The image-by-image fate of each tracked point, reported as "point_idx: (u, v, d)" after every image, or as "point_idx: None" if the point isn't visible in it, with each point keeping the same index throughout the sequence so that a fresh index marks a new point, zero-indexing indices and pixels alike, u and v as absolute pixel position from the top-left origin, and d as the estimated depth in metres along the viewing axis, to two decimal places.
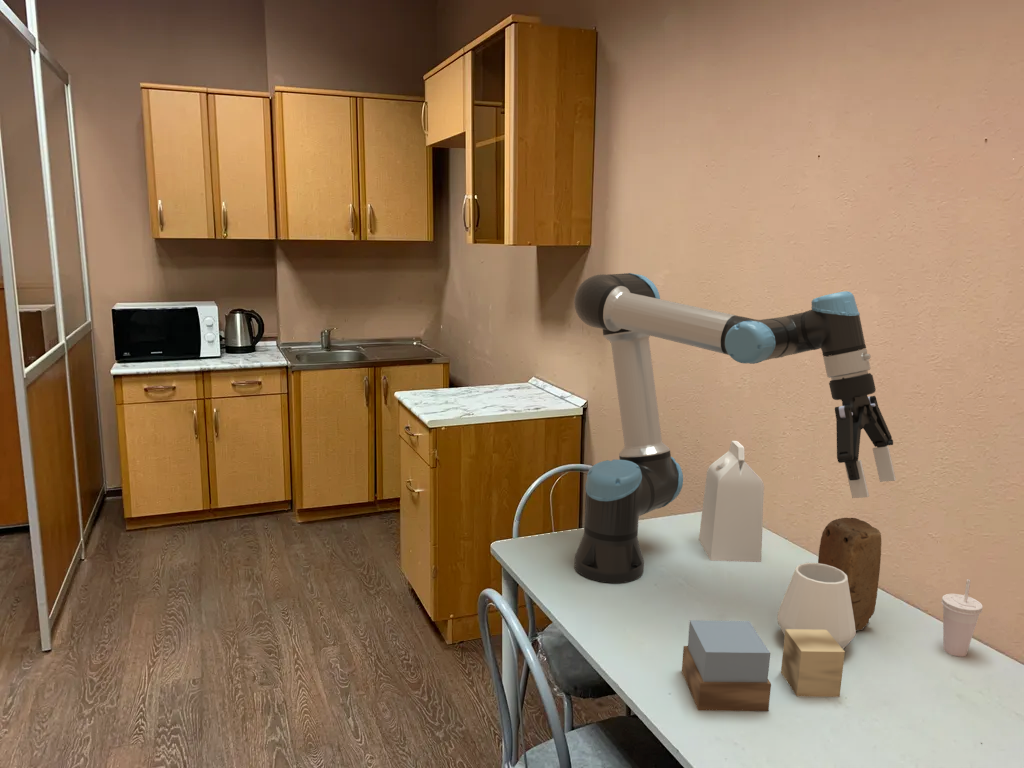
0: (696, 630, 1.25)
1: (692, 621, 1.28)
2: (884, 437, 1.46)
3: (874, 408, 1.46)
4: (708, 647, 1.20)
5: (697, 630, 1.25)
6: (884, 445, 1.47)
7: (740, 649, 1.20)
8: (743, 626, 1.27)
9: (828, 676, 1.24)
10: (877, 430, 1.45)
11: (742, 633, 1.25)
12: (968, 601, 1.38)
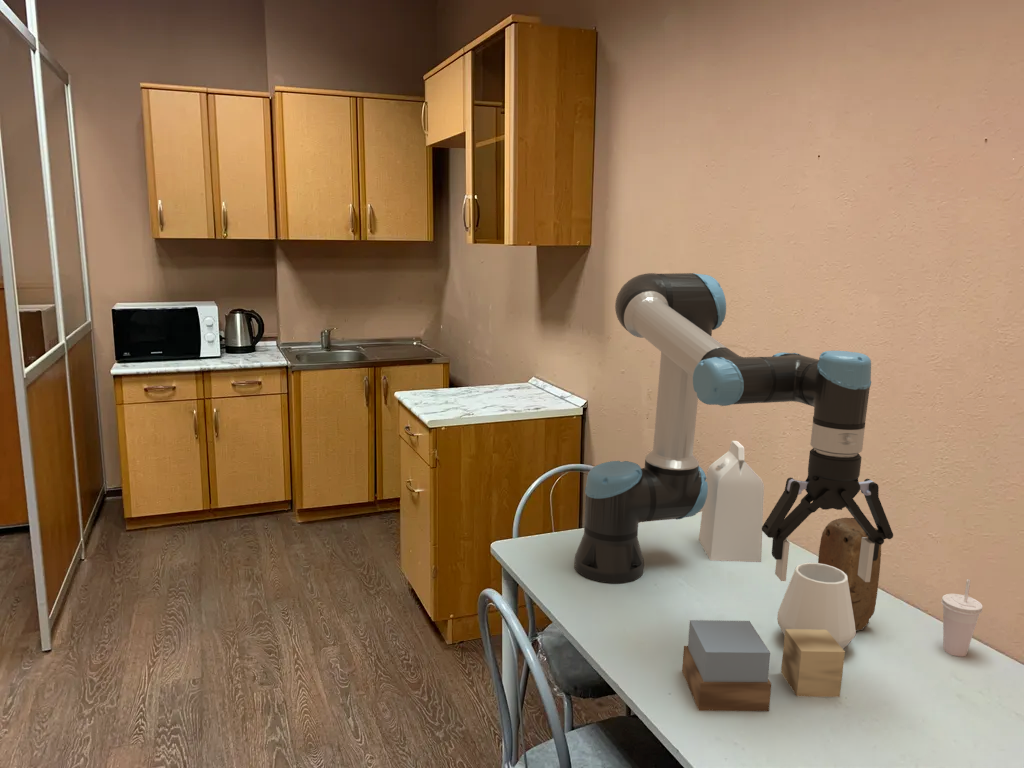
0: (696, 630, 1.25)
1: (692, 621, 1.28)
2: (871, 532, 1.22)
3: (870, 497, 1.22)
4: (708, 647, 1.20)
5: (697, 630, 1.25)
6: (872, 540, 1.23)
7: (740, 648, 1.20)
8: (743, 626, 1.27)
9: (828, 676, 1.24)
10: (859, 521, 1.22)
11: (742, 633, 1.25)
12: (968, 601, 1.38)
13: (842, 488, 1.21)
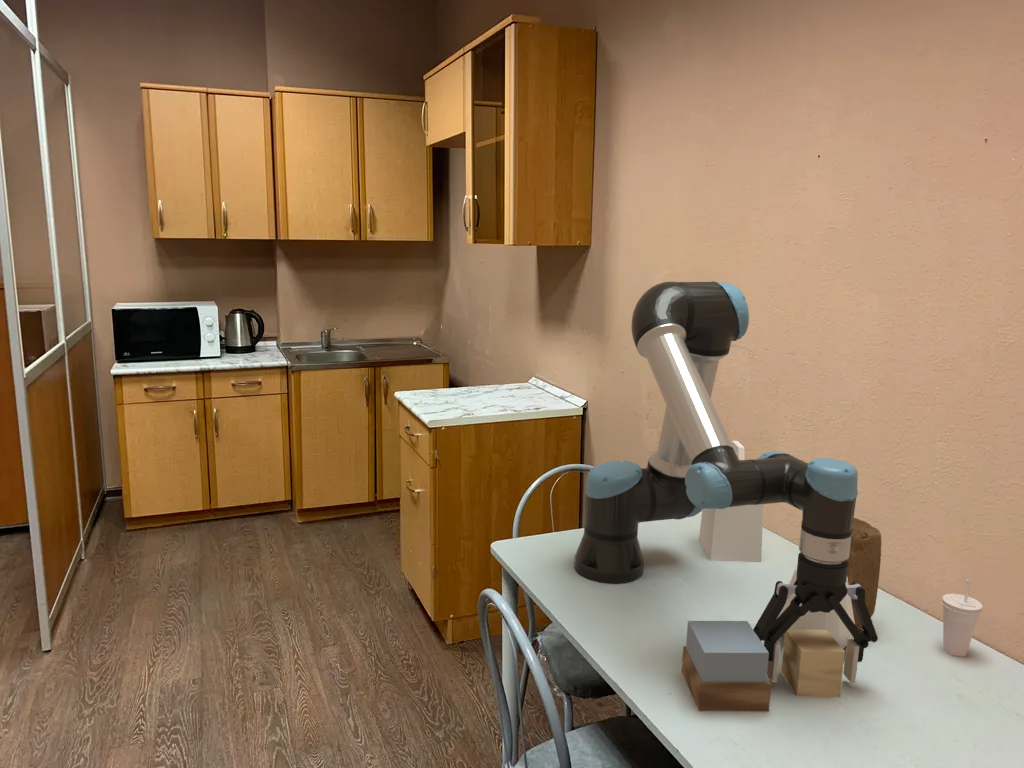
0: (694, 630, 1.25)
1: (690, 621, 1.28)
2: (857, 635, 1.25)
3: (856, 600, 1.25)
4: (706, 648, 1.20)
5: (695, 631, 1.25)
6: (857, 643, 1.26)
7: (739, 649, 1.20)
8: (741, 626, 1.27)
9: (828, 676, 1.24)
10: (845, 624, 1.25)
11: (740, 633, 1.25)
12: (968, 601, 1.38)
13: (830, 592, 1.24)
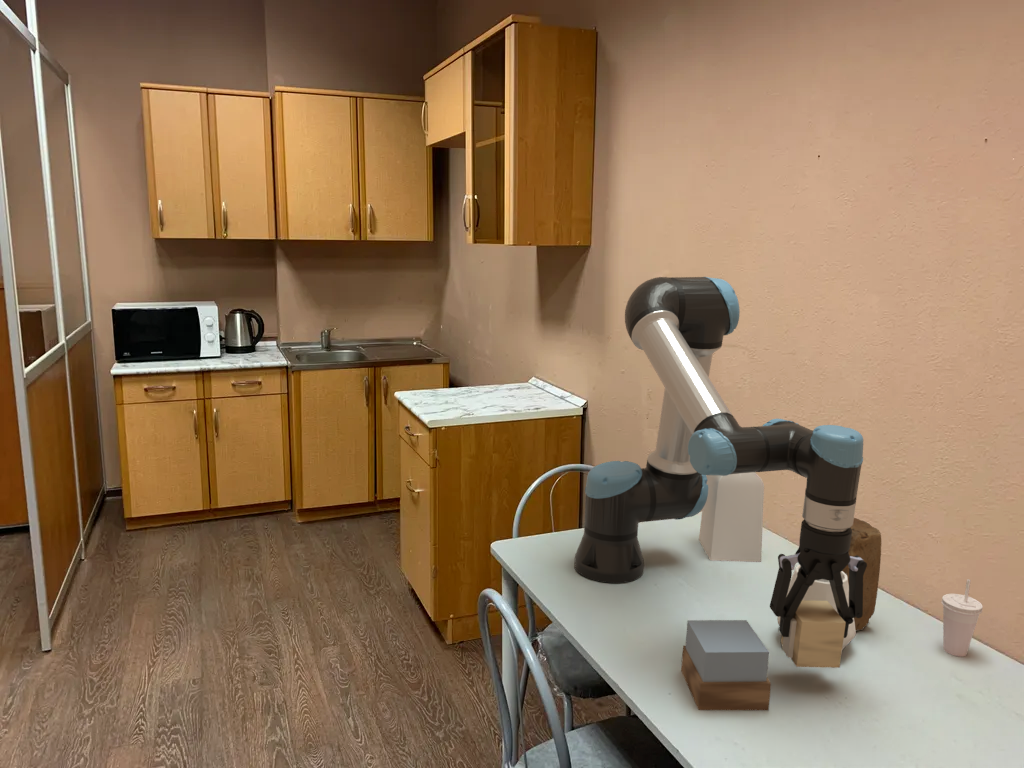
0: (694, 630, 1.25)
1: (690, 621, 1.28)
2: (844, 610, 1.25)
3: (855, 573, 1.24)
4: (707, 647, 1.20)
5: (695, 630, 1.25)
6: (842, 618, 1.26)
7: (739, 648, 1.20)
8: (741, 626, 1.27)
9: (828, 647, 1.24)
10: (837, 596, 1.25)
11: (740, 632, 1.25)
12: (968, 601, 1.38)
13: (834, 560, 1.23)
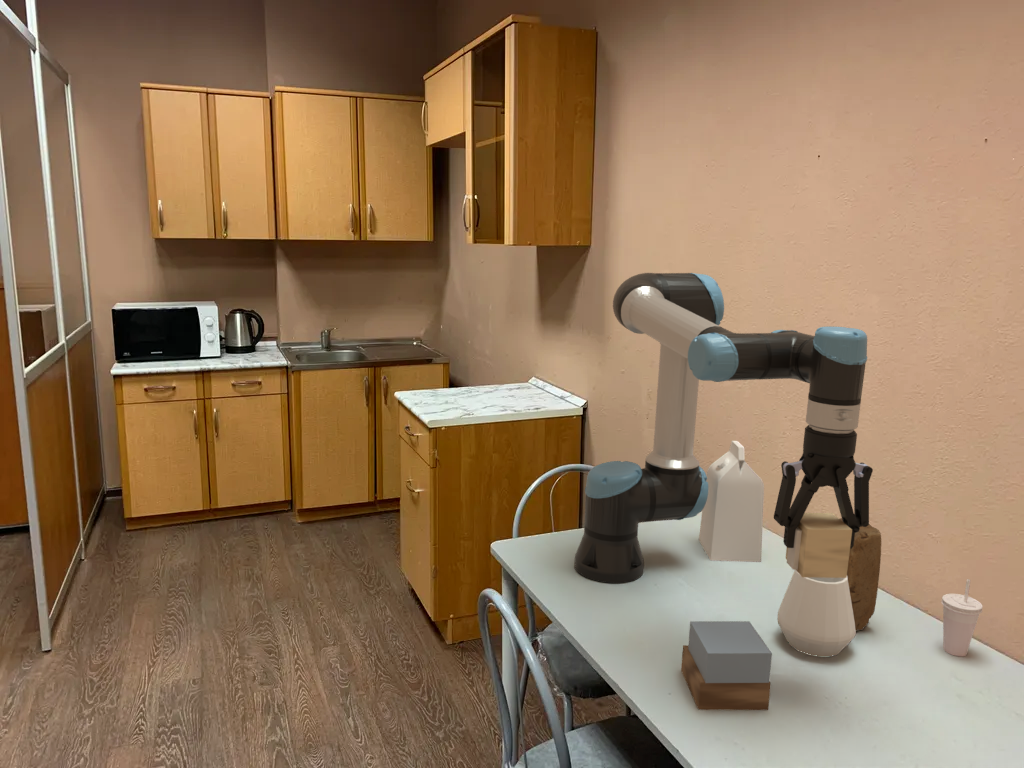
0: (697, 631, 1.25)
1: (692, 622, 1.28)
2: (850, 518, 1.22)
3: (860, 479, 1.21)
4: (710, 648, 1.20)
5: (698, 631, 1.25)
6: None
7: (742, 649, 1.20)
8: (744, 627, 1.27)
9: (834, 556, 1.20)
10: (842, 503, 1.21)
11: (742, 634, 1.25)
12: (968, 601, 1.38)
13: (839, 465, 1.20)
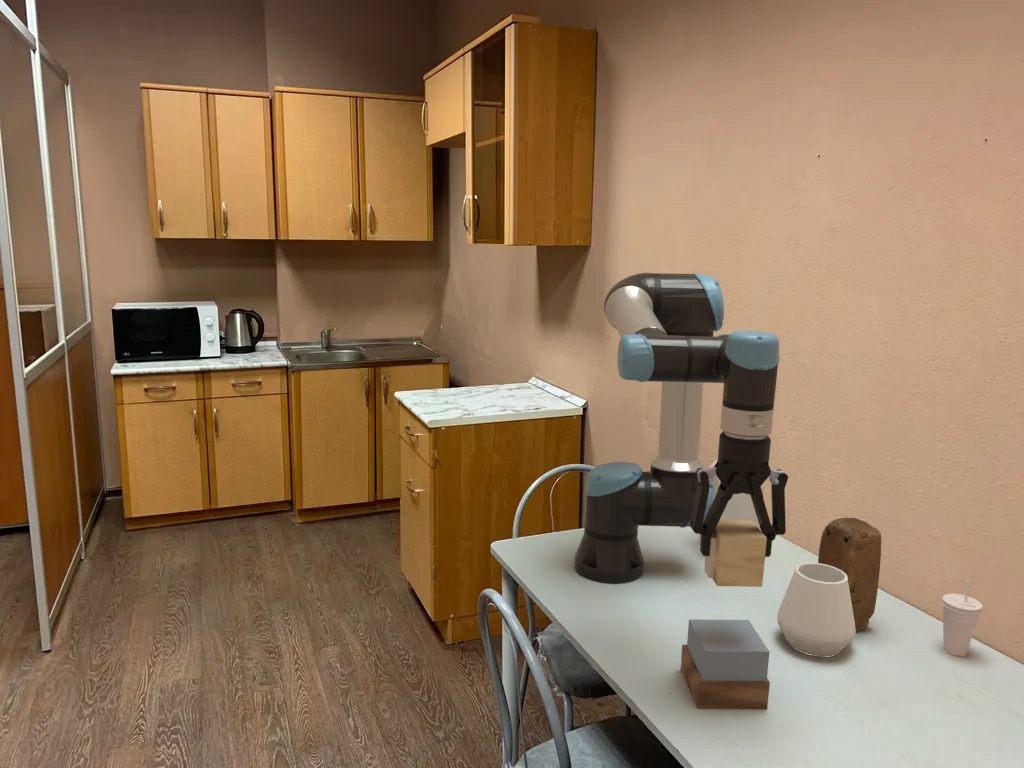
0: (695, 629, 1.26)
1: (691, 620, 1.29)
2: (766, 526, 1.19)
3: (776, 486, 1.19)
4: (707, 646, 1.21)
5: (696, 629, 1.26)
6: None
7: (740, 647, 1.20)
8: (742, 625, 1.27)
9: (749, 564, 1.18)
10: (758, 511, 1.19)
11: (741, 632, 1.25)
12: (968, 601, 1.38)
13: (753, 472, 1.18)
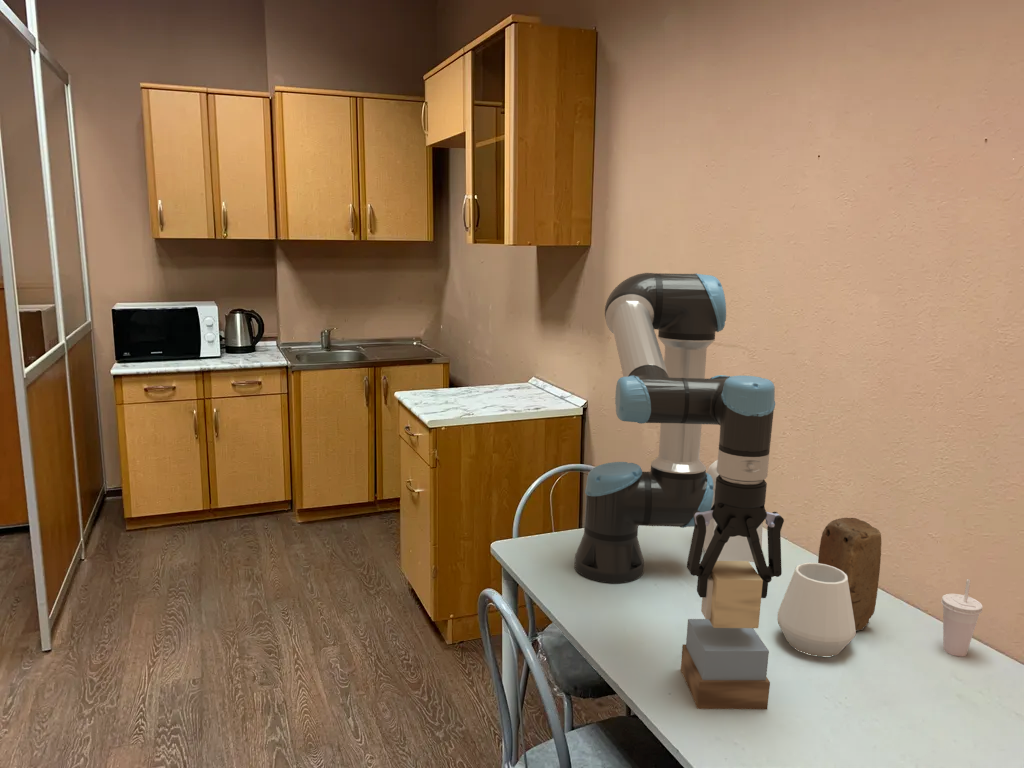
0: (695, 629, 1.26)
1: (690, 620, 1.29)
2: (762, 568, 1.21)
3: (772, 529, 1.20)
4: (707, 646, 1.21)
5: (695, 629, 1.26)
6: None
7: (739, 647, 1.21)
8: None
9: (746, 606, 1.20)
10: (754, 553, 1.20)
11: (740, 631, 1.25)
12: (968, 601, 1.38)
13: (749, 515, 1.19)
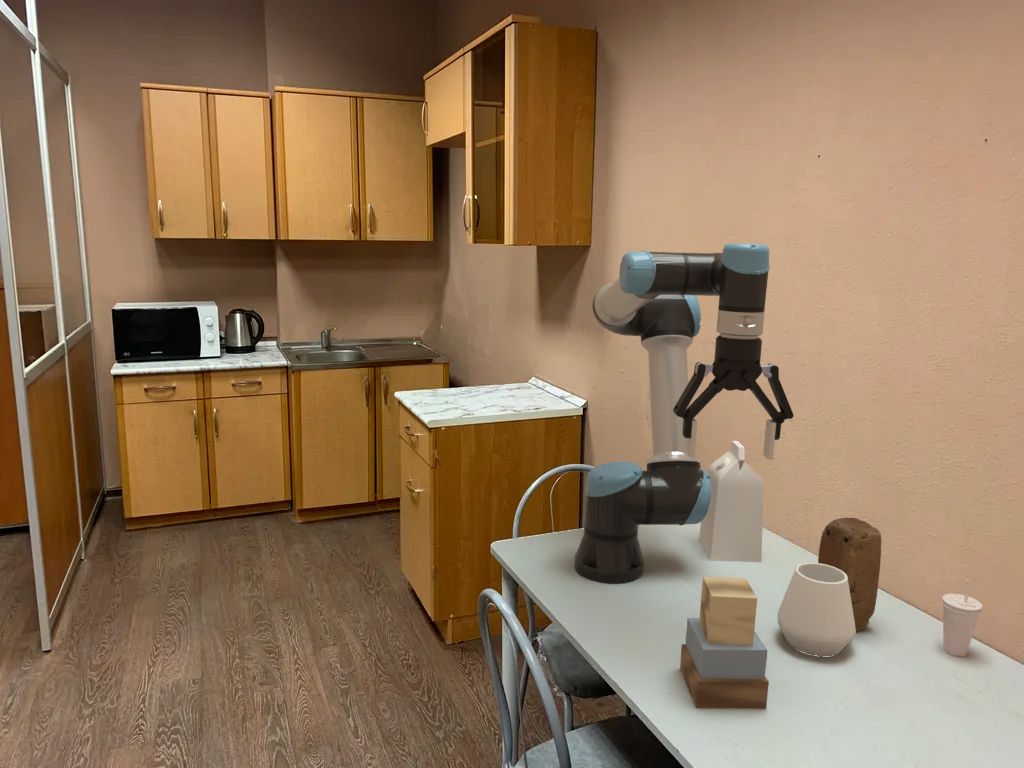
0: (694, 628, 1.26)
1: (690, 619, 1.29)
2: (773, 412, 1.32)
3: (771, 379, 1.32)
4: (705, 645, 1.21)
5: (694, 628, 1.26)
6: (775, 420, 1.33)
7: (738, 646, 1.21)
8: None
9: (740, 623, 1.21)
10: (762, 402, 1.32)
11: None
12: (968, 601, 1.38)
13: (745, 370, 1.31)
